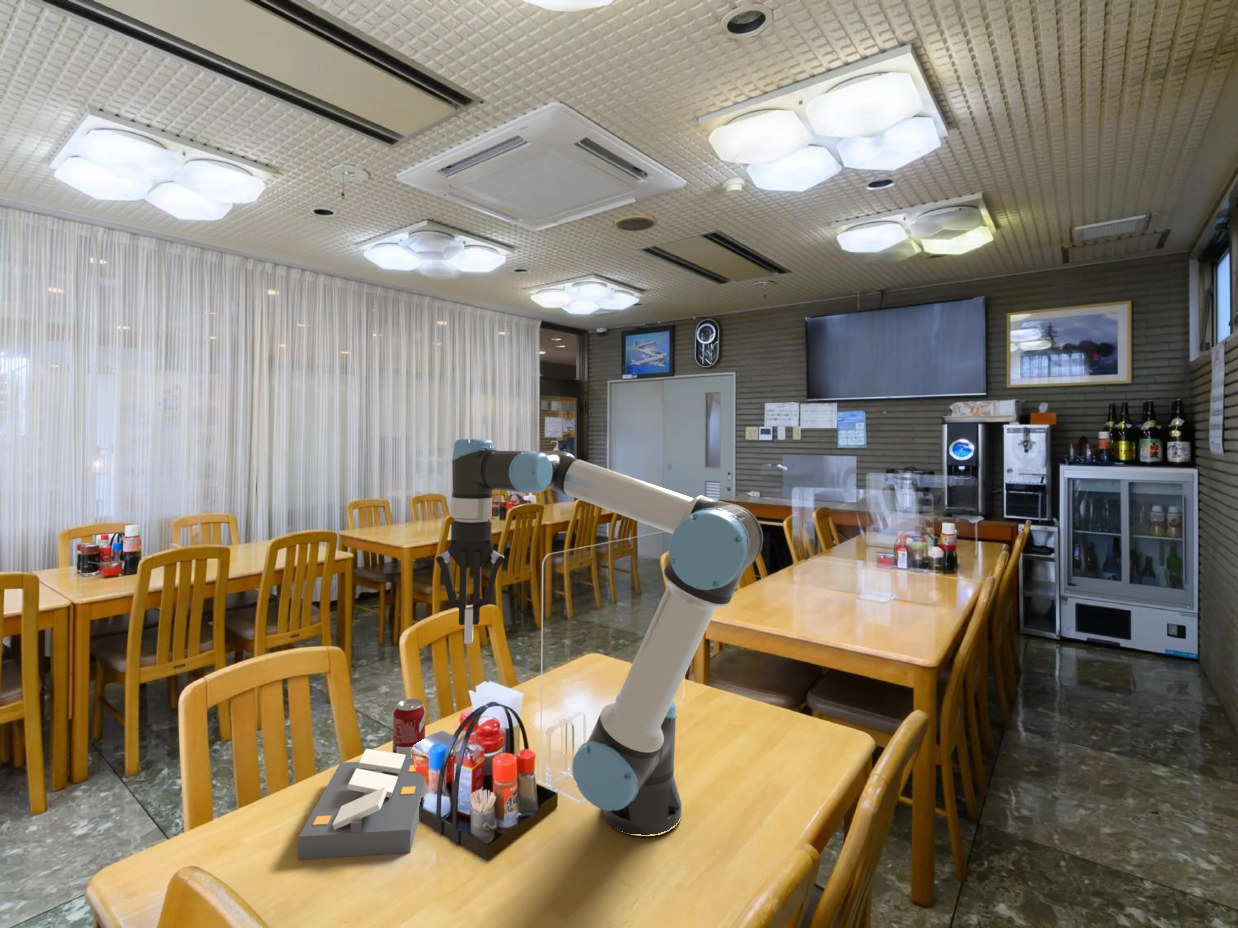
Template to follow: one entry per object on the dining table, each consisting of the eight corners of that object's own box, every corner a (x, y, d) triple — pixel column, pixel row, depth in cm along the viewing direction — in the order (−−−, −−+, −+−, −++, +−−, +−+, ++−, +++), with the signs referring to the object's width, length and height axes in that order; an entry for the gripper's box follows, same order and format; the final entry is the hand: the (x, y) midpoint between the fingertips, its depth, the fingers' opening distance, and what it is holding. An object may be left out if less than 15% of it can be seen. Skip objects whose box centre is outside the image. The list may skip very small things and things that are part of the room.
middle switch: (395, 783, 120) (398, 776, 120) (389, 801, 114) (392, 792, 114) (354, 775, 119) (356, 767, 119) (345, 792, 113) (348, 784, 113)
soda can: (414, 766, 134) (415, 711, 134) (386, 762, 135) (387, 708, 135) (430, 751, 141) (431, 699, 140) (403, 747, 142) (404, 696, 142)
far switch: (404, 761, 128) (406, 754, 128) (398, 776, 122) (400, 768, 122) (364, 755, 127) (366, 748, 127) (357, 770, 121) (359, 762, 121)
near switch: (388, 794, 112) (385, 786, 112) (381, 813, 106) (377, 804, 106) (345, 813, 111) (341, 805, 111) (335, 833, 105) (331, 825, 105)
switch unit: (430, 776, 130) (431, 750, 130) (410, 852, 106) (410, 819, 106) (340, 781, 127) (340, 754, 127) (298, 859, 104) (298, 826, 103)
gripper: (506, 517, 123) (503, 634, 124) (439, 516, 121) (436, 635, 122) (505, 522, 116) (502, 646, 117) (433, 521, 114) (430, 648, 115)
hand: (468, 640), depth 119 cm, fingers closed
